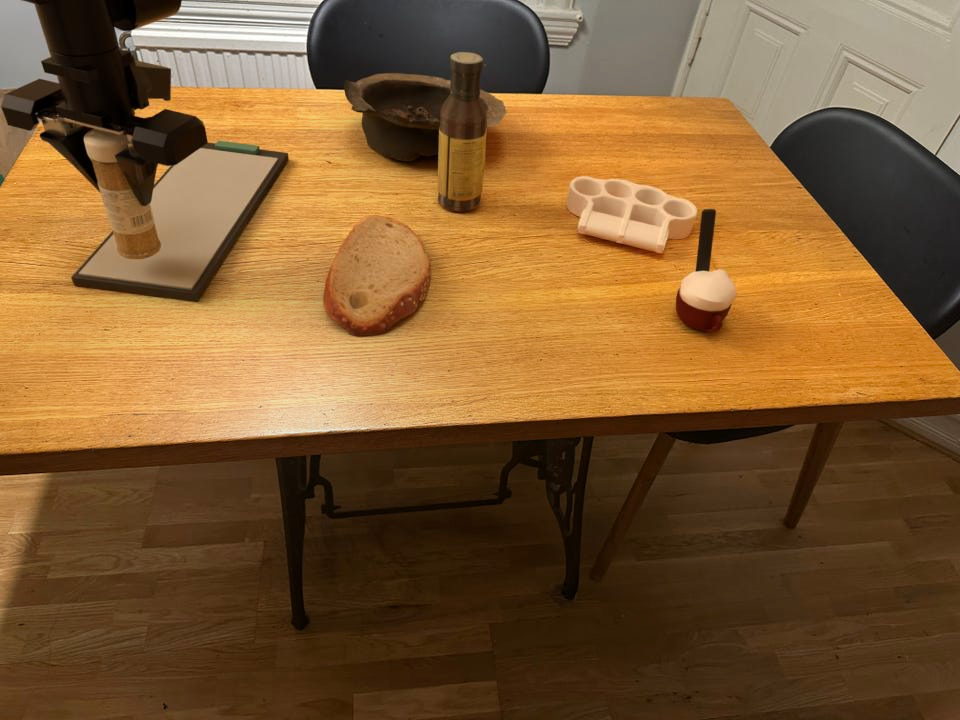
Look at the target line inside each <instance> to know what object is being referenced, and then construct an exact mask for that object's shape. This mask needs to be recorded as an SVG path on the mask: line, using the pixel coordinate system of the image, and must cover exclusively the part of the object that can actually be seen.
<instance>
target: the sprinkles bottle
mask: <svg viewBox="0 0 960 720" xmlns="http://www.w3.org/2000/svg"><path fill="white" fill-rule="evenodd" d="M127 142H129V141H128V139H127V136H126V135H118V134H114V133H110V132H106V131H102V130H98V129H93V130H91V131H89V132H88V133H86V134H85V136H84V144H85V148H86V151H87V154H88V156H89V158H90V160H91V161H92V164H93V168H94V171H95V174H96V178H97V180H98V186H99V190H100V192H99V193H100V196H101V199H102V203H103V206H104V209H105V213H106V217H107V220H108V224H109V227H110V228H111V230H112V231H113V234H114V237H115V241H116V244H117V252H118V253H119V254H120V255H121V256H122V257H124V258H127V259H135V260H137V259H145V258H148V257H151V256H153V255H154V254H156V253H157V252H158V251H159V250H160V248H161V242H160V240H159V239H158V235H157V231H156V227H155V222H154V218H153V213H152V209H151V205H150V204H148V205H147V206H142V205H141V204H140V202H139V201H138V199H137V198H136V196H135V194H134V192H133V191H132V189H131V187H130V185H129V183H128V181H127V179H126V177H125V175H124V173H123V171H122V170H121V168H120V166H119V164H118V162H117V160H116V158H115V155H116V154H118V153H119V152H121V151H123V150H124V149H126V148H128V144H127ZM112 231H111V232H112Z"/></svg>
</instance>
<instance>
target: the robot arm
mask: <svg viewBox="0 0 960 720" xmlns="http://www.w3.org/2000/svg"><path fill="white" fill-rule="evenodd" d="M21 1H22V2H27V3H30V4H33V5H34V7H35V11H36V14H37V18H38V21H39V24H40V27H41V29H42V33H43V36H44V39H45V43H46V46H47V49H48V53H49V56H50V57H47V58H44V59H43V60H41V61H40V63H41V65H42V66H41V67H42V70H43V72H44V73H45V74H49V75H53V76H56V77H57V80H58V82H55V81H51V80H47V79H43V78H38V79H35V80H33V81H30V82H28V83H26V84H24V85H21V86H20V87H18V88H16V89H13V90H11V91H8V92H6V93H4V96H3V99H2V102H1V106H0V108H1V110H2V113H3V116H4V118H5V121H6V124H7V126H10V127H13V128H18V129H21V130H25V131H29V132H31V131H33V130H35V129H36V128H37V127H38V125H39V124H40V121H41V124H42V126H43V130H44V131H42V132H41V133H39V138H40V139H41V141H43V142H46V143H48V144H49V145H50V146H51V147H52V148H54V150H55V151H57V152H58V153H59V154H60V155H62V157H63V158H65V160H66V161H68V162H69V164H71V165H72V166H73V167H74V168H75V169H76V170H77V171H78V172H79V174H80V175H82V176H83V177H84V179H86V181H88V182H89V183H90V184H91V185H92V186H93V187H94V188H95V190H97V192H99V193H100V190H99V186H98V180H97V178H96V174H95V171H94V168H93V164H92V161H91V160H90V158H89V156H88V154H87V151H86V148H85V144H84V136H85V134H86V133H88V132H89V131H91V130H93V129H98V130H102V131H106V132H110V133H114V134H118V135H126V136H127V139H128V141H129V142H127V144H128V148H126V149H124V150H123V151H121V152H119V153H118V154H116V155H115V158H116V160H117V162H118V164H119V166H120V168H121V170H122V171H123V173H124V175H125V177H126V179H127V181H128V183H129V185H130V187H131V189H132V191H133V192H134V194H135V196H136V198H137V199H138V201H139V202H140V204H141V205H142V206H147V205H148V204H150V203H151V200H152V194H153V188H154V184H155V183H156V176H157V169H158V165H161V166H167V167H170V166H171V165H177V164H178V163H180V162H181V161H183V160H184V159H186V158H187V157H188V156H190V155H191V154H193V153H194V152H196V151H197V150H198V149H200V148H201V147H203V146H204V145H206V144H207V143H209V141H208V136H207V131H206V126H205V123H204V121H203V120H201V119H200V118H199V117H197V116H196V115H192V114H188V113H184V112H180V111H176V110H172V109H167V108H164V109H162V110H160V111H159V112H157V113H155V114H154V115H152V116H147V117H140V116H137V115H136V110H144V109H146V108H149V106H150V101H149V100H163V101H165V102H169V101H171V99H172V68H171V67H168V66H163V65H158V64H154V63H150V62H146V61H141V60H136V59H135V57H134V55H133V53H132V52H131V51H129V50H123V49H122V48H120V44H119V40H118V36H117V32H116V29H117V30H119V31H122V32H131V31H134V30H137V29H140V28H142V27H145V26H148V25H151V24H153V23H157V22H159V21H163V20H165V19H168V18H171V17H173V16H175V15H176V14H177V13H178V12H179V11H180V9H181V7H182V1H183V0H21ZM39 120H40V121H39Z"/></svg>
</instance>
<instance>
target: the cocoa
mask: <svg viewBox="0 0 960 720" xmlns="http://www.w3.org/2000/svg"><path fill="white" fill-rule="evenodd" d="M716 215H717V210H716V209H715V208H705V209H703V210H702V211H701V217H700V224H699V235H698V245H697V254H696V263H695V270H694V271H692V272H691V273H689V274H688V275H686V276H684V277H683V278H682V279H681V283H680V285H679V288H678V290H677V293H676V296H675V311H676V315H677V317H678V319H679V321H680V322H682V323H683V324H684V325H685V326H687V327H689V328H691V329H694V330H699V331H705V332H708V333H714V332H719V331H720V330H721V329H722V326H723V321H725V319H726V317H727V316H728V314H729V312H730V310H731V307H732V305H733V303H734V302H735V299H736V298H737V296H738V291H737V290H736V287H735V286H736V285H735V282H734V280H733V279H732V278H731V277H730V276H729V274H728V272H727V270H726V269H721V268H718V269H714V270H711V271H710V269H711V261H712V253H713V243H714V242H713V241H714V232H715V224H716Z"/></svg>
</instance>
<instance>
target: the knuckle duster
mask: <svg viewBox="0 0 960 720" xmlns="http://www.w3.org/2000/svg"><path fill="white" fill-rule="evenodd" d="M565 206H566V209H567V210H568V211H569V212H570V213H571V214H573V215H574V216H576V217H579V221H578V224H577V227H576V233H578V234H582V235H586V236H589V237H595V238H597V239H602V240H606V241H611V242H614V243H617V244H623V245H626V246H630V247H634V248H638V249H642V250H646V251H649V252H653V253H657V254H663V253H664V250H665V247H666V243H667V241H668V240H683V239H685V238H687V237H689V236H690V235H691V233H692V230H693V228H694V224H695V223H696V219H697V216H698V208H697V207H696V204H694V203H693V202H692V201H690V200H688V199H686V198H681V197H677V196H673V195H670V194H668V193H667V192H665V191H663V190H662V189H660V188H657V187H655V186H652V185H647V184H638V183H635V182H631V181H629V180H627V179H620V178H610V179H602V178H595V177H592V176H589V175H581V176H577V177H575V178H573V179H572V180H571V181H570V182H569V186H568V191H567V196H566V201H565Z"/></svg>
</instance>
